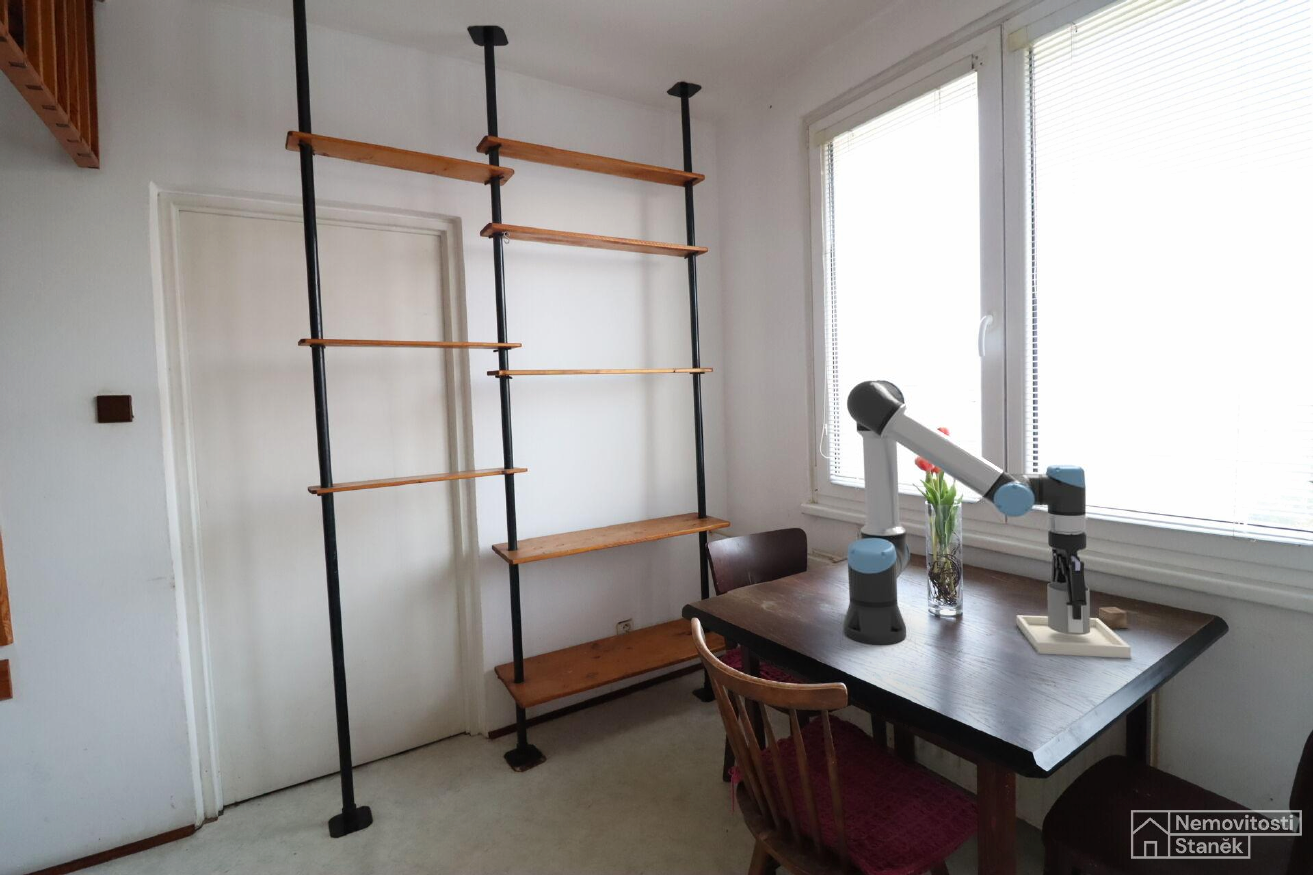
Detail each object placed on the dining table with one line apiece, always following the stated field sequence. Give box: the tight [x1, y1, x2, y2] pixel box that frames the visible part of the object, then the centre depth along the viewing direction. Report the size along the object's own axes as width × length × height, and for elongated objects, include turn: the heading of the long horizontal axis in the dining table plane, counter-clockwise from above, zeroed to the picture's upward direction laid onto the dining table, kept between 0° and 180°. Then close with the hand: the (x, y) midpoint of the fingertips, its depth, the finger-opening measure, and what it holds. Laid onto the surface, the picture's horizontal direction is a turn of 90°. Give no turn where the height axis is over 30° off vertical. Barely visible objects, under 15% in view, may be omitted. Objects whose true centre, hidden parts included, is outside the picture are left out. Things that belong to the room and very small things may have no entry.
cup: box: [1046, 582, 1091, 635], centre depth 147 cm, size 8×8×10 cm
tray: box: [1016, 614, 1132, 659], centre depth 147 cm, size 18×18×2 cm
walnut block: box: [1098, 606, 1128, 630], centre depth 154 cm, size 4×4×4 cm
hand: (1068, 624), depth 147 cm, fingers closed on cup, 8 cm apart
